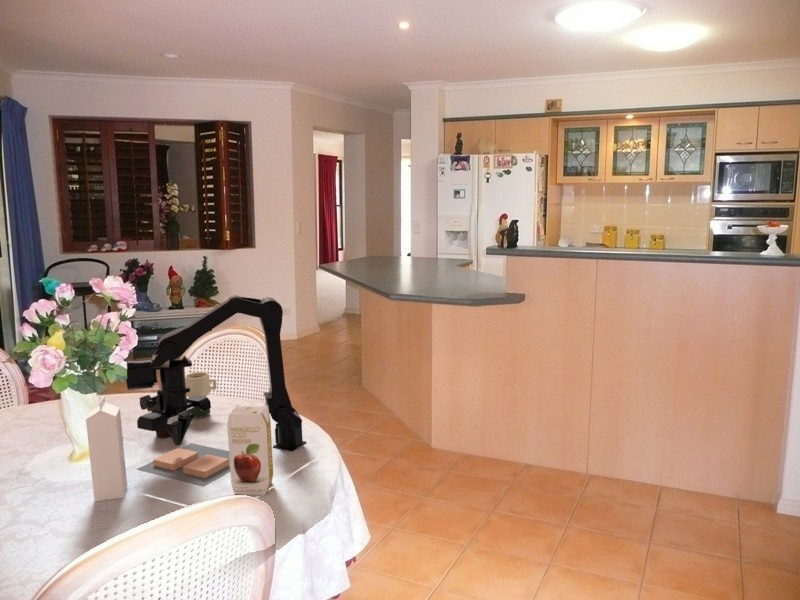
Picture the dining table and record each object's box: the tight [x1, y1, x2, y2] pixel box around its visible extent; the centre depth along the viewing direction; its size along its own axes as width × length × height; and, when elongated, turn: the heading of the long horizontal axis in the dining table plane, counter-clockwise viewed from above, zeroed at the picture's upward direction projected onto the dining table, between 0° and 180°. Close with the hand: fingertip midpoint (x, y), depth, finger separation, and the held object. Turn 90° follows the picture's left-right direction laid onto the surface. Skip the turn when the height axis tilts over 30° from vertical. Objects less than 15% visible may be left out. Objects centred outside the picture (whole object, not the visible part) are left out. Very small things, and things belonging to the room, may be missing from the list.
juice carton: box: [226, 404, 274, 497], centre depth 138 cm, size 8×9×19 cm
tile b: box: [152, 447, 199, 471], centre depth 154 cm, size 7×2×8 cm
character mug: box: [185, 371, 217, 419], centre depth 188 cm, size 11×7×13 cm, turn 105°
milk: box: [85, 395, 128, 503], centre depth 137 cm, size 6×6×22 cm
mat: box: [136, 442, 230, 487], centre depth 154 cm, size 22×18×1 cm
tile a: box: [183, 454, 229, 478], centre depth 149 cm, size 7×2×8 cm
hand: (178, 445), depth 154 cm, fingers closed
